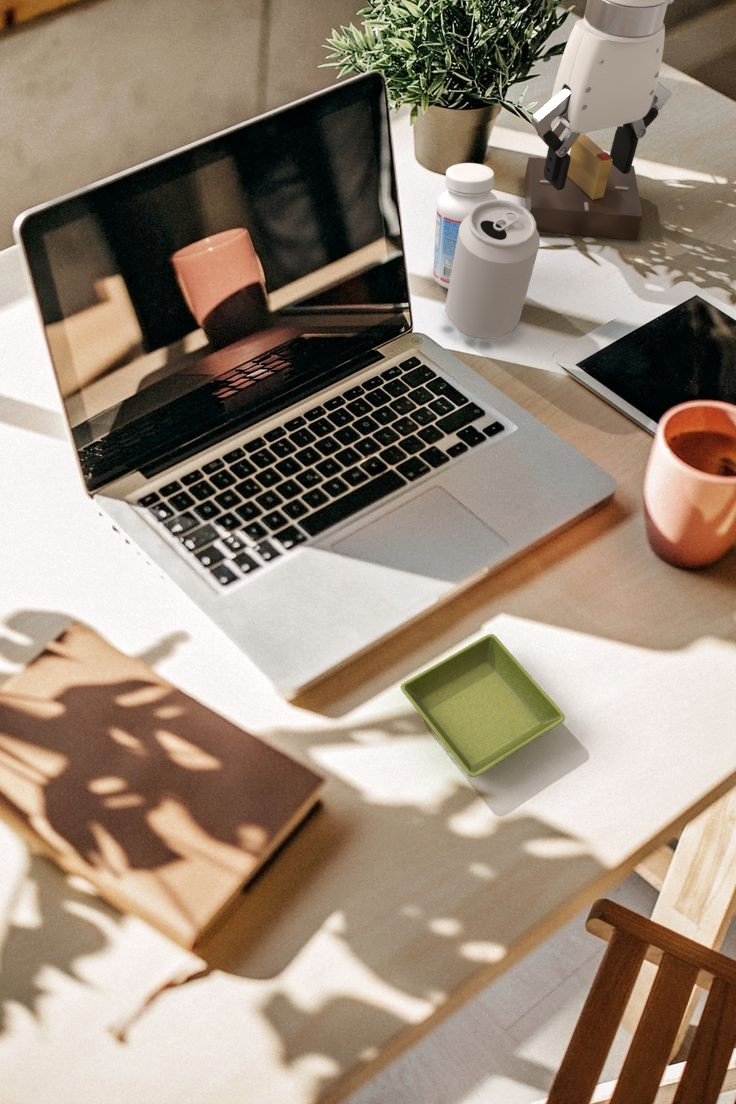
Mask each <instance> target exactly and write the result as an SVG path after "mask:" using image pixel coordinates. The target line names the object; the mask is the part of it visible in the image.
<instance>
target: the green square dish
mask: <svg viewBox="0 0 736 1104" xmlns="http://www.w3.org/2000/svg"><path fill="white" fill-rule="evenodd" d="M400 690H401V692H402V693H403V694H404V696H405V697H406V698H407V700H408V701H409V702H410V703H411V705H412V706H413V707H414V708H415V710H416V711H417V713H418V714H419V715H420V716H421V718H422V719H423V720H424V721H425V723H426V724H427V725H428V727H429V728H430V729H431V730H432V731H433V733H434V734H435V735H436V736H437V738H438V739H439V741H440V742H441V743H442V744H443V745H444V747H445V748H446V749H447V751H448V752H449V753H450V755H451V756H452V758H454V760H455V761H456V763H458V765H459V766H460V767H461V768H462V770H463V771H464V772H465V774H466V775H467V776H469V777H470V778H477V777H479V776H480V775H482V774H483V773H485V772H487V771H488V770H490V769H491V768H493V767H495V766H496V765H497V764H499V763H501V762H502V761H504V760H505V759H507V758H509V757H510V756H512V755H513V754H515V753H516V752H518V751H519V750H521V749H522V748H524V747H526V746H527V745H529V744H531V743H533V741H535V740H537V739H539V738H540V737H542V736H543V735H545V734H546V733H548V732H549V731H551V730H553V729H554V728H556V727H558V726H559V725H561V724H562V723H564V722H565V720H566V716H565V714H564V713H563V711H562V710H561V709H560V708H559V706H558V705H557V704H556V703H555V702H554V701H553V699H551V697H550V696H549V695H548V694H547V693H546V692H545V690H543V688H542V687H541V686H540V685H539V684H538V683H537V681H535V679H534V678H533V677H532V675H530V674H529V673H528V671H527V670H526V669H525V667H523V666H522V664H521V663H520V662H519V661H518V660H517V659H516V658H515V656H514V655H513V654H512V653H511V651H509V649H508V648H507V647H506V646H505V644H503V642H501V640H500V639H499V638H498V636H496V635H495V634H494V633H490V634H486V635H485V636H483V637H481V638H479V639H477V640H476V641H474V642H472V643H471V644H468V645H467V646H464V647H463V648H462V649H460V650H458V651H457V652H456V653H453V654H452V655H450V656H448V657H446V658H445V659H443V660H441V661H440V662H438V663H436V664H434V665H432V666H431V667H429V668H428V669H425V670H424V671H422V672H420V673H418V674H416V675H415V676H413V677H411V678H409V679H407V680H406V681H404V682H402V683H401V685H400Z"/></svg>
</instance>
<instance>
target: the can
mask: <svg viewBox="0 0 736 1104" xmlns="http://www.w3.org/2000/svg"><path fill="white" fill-rule="evenodd" d="M539 233H540V232H538V231H537V229H536V221H535V219H534V217H533V215H532V214H531V213H530V212H529V211H528V210H527V209H525V206H522V205H520V204H519V203H516V202H514V201H510V200H506V199H497V200H488V201H485V202H482V203H479V204H478V205H476V206H475V207H474V208H472V210H471V212H470V213H469V215H468V216H467V217H465V218H464V219H463V221H462V223H461V224H460V226H459V232H458V238H457V243H456V249H455V255H454V260H453V266H452V271H451V277H450V283H449V288H448V289H447V295H446V300H445V313H446V317H447V320H448V321H450V323H451V324H452V325H453V326H454V327H455V329H457V330H459V331H460V332H462V333H463V334H465V335H467V336H469V337H472V338H475V339H482V340H487V339H494V338H501V337H504V336H505V335H508V334H510V333H511V332H512V331H514V329H515V328H517V326H518V324H519V322H520V320H521V317H522V313H523V308H524V306H525V302H526V297H527V294H528V289H529V286H530V282H531V279H532V275H533V271H534V267H535V263H536V260H537V256H538V253H539V252H538V251H539V248H540V245H541V244H540V242H541V241H540V240H541V239H540V237H541V236H540V234H539Z"/></svg>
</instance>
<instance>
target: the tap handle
mask: <svg viewBox="0 0 736 1104" xmlns="http://www.w3.org/2000/svg"><path fill="white" fill-rule="evenodd" d="M569 155H570V157H571V160H570V165H569V169H568V174H567V176H568V177H569V178H570V179H572V180H573V181H574V182H575V183H576V184H577V185H578V186H579V187H580V188H581V189H582V190H583V191H584V192H585V193H586V194H587V195H588V196H589V197H590V198H591V199H592V200H594V199H598V198H602V197H603V196H604V192H605V188H606V184H607V180H608V176H609V172H610V168H611V164H612V160H613V159H612V158H611V156H610V153H608V152H607V151H604V150H603V149H602V148H601V147H600V146H598V144H596V142H594V141H593V140H592V139H591V138H590V137H588V135H586V133H581V134H580V135H579V137H578V138H577V140H576V141H575V142H574V144H573V145H572V147H571V148H570V150H569Z"/></svg>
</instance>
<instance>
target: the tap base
mask: <svg viewBox="0 0 736 1104" xmlns="http://www.w3.org/2000/svg"><path fill="white" fill-rule="evenodd" d="M546 158H547V157H546ZM546 158H544V157H532V156H528V159H527V164H526V169H525V175H524V178H523V179H524V180H523V182H524V183H523V184H524V205H525V206H524V208H525V209H527V210H528V211H529V212H530V213H531V214H532V215H533V217H534V219H535V221H536V229H537V231H538V233H545V234H557V235H566V236H567V235H569V236H580V237H593V238H603V239H604V238H605V239H606V238H607V239H615V240H628V241H636V240H637V236H638V233H639V229H640V227H641V223H642V219H643V211H642V207H641V206H642V205H641V200H640V193H639V188H638V181H637V176H636V169H635V166H634V165H632V166H631V170H630V172H629V173H627V174H623V173H622V172H621V171H619V170H618V169H617V168H616V167H615V166H614V165H613V164H611V168H610V172H609V176H608V180H607V184H606V188H605V192H604V196H603V197H602V198H598V199H594V200H592V199H591V198H590V197H589V196H588V195H587V194H586V193H585V192H584V191H583V190H582V189H581V188H580V187H579V186H578V185H577V184H576V183H575V182H574V181H573V180H572V179H570V178H569V177H568V176H567V178H566V183H565V187H564V188H563V189H562V190H557V189H556V188H555V187H554V186H553V185H552V184H551V183H549V182H548V181H547V180H546V179H545V177H544V168H545V163H546Z"/></svg>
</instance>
